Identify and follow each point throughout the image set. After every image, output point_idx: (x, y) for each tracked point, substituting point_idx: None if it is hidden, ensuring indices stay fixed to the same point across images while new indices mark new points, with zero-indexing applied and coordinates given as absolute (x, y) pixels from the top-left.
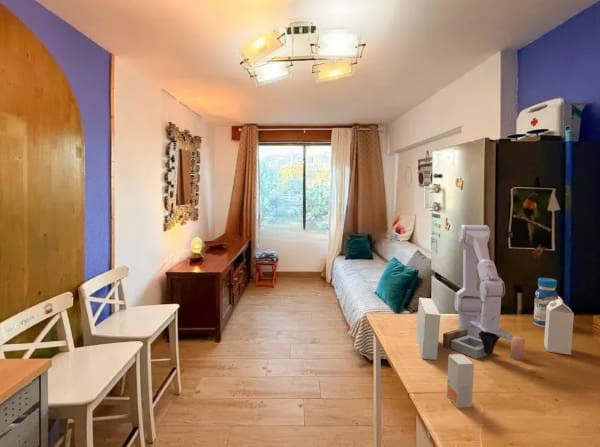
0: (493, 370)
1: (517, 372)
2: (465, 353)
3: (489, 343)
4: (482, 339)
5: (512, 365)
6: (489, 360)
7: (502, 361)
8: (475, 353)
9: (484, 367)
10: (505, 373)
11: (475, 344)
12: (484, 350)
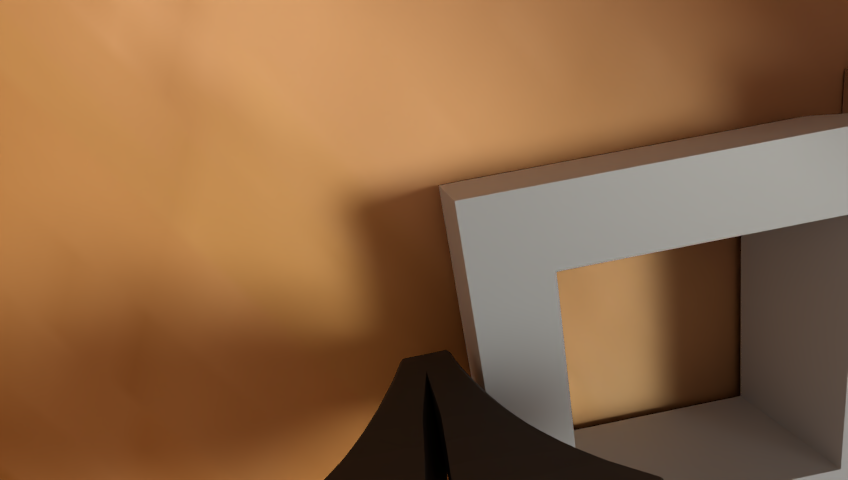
0: (115, 143)
1: (16, 371)
2: (596, 156)
3: (348, 467)
4: (524, 453)
5: (185, 451)
6: (363, 316)
7: (298, 428)
8: (462, 189)
9: (217, 100)
10: (12, 220)
11: (696, 438)
12: (478, 377)
